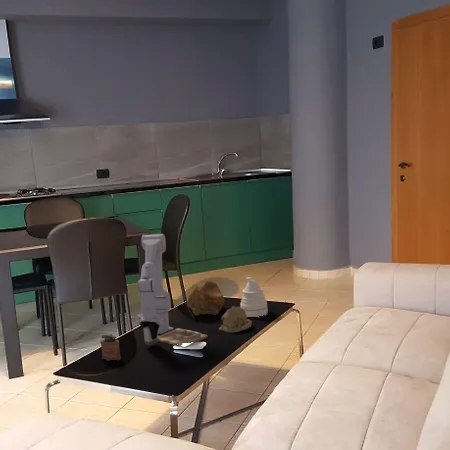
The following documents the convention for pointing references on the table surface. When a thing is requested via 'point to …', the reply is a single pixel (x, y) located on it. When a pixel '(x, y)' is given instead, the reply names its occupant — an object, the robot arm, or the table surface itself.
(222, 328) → the ceramic model
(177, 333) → the birch board
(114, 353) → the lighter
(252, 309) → the honey pot
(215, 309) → the rough brown rock
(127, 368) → the table surface
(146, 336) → the peg
